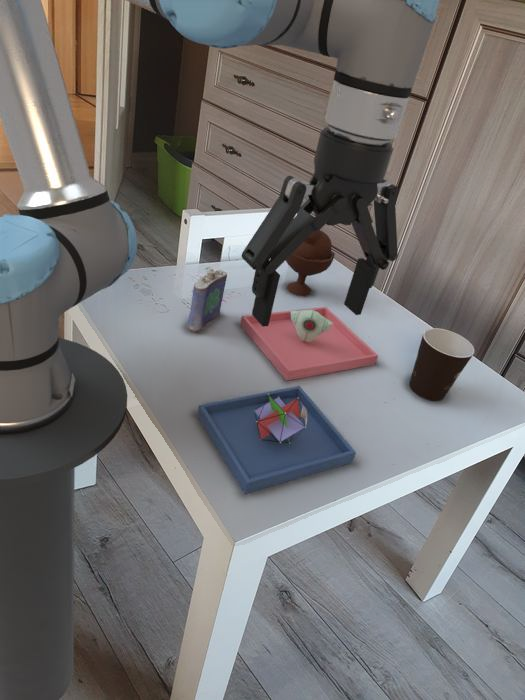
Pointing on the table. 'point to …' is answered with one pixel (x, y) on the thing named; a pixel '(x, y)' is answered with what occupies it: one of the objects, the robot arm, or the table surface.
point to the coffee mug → (439, 363)
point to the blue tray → (267, 456)
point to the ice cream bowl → (310, 261)
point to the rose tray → (308, 346)
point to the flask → (206, 299)
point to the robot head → (309, 324)
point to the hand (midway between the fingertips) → (308, 314)
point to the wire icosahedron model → (280, 419)
